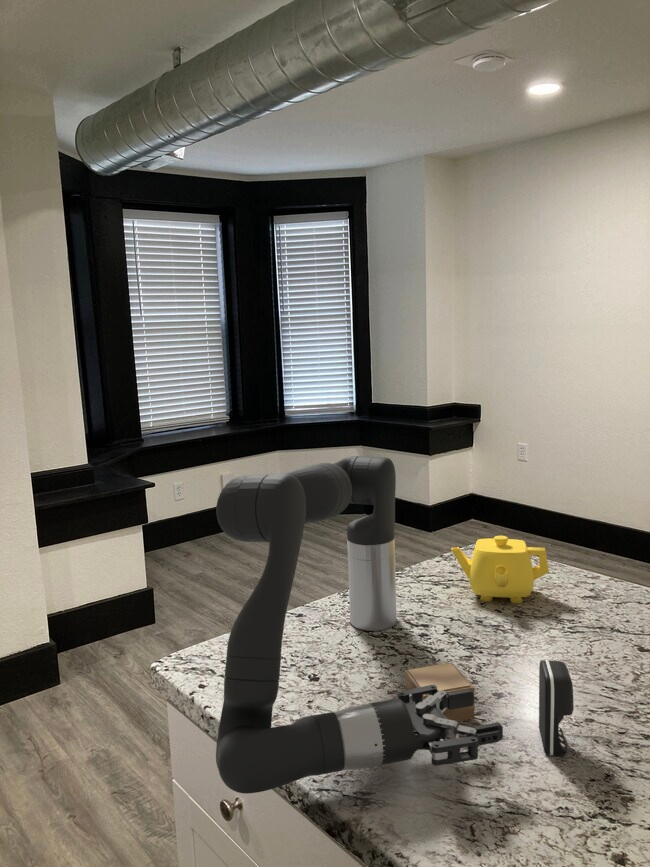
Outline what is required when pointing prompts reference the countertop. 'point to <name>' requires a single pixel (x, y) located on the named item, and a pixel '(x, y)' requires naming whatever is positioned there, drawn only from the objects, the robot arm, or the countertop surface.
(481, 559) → the teapot
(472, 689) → the wooden box
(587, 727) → the countertop surface
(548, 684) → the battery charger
